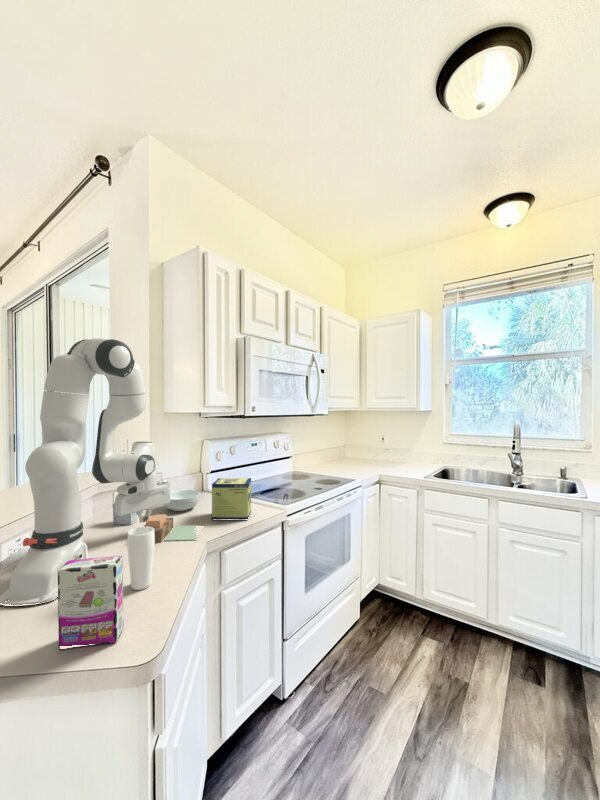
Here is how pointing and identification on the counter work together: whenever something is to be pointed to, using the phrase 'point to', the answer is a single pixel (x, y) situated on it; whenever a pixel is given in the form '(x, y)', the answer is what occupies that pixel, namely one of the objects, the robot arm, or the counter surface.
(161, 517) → the terracotta tile
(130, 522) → the medicine box
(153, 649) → the counter surface
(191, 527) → the sage mat
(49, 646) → the counter surface
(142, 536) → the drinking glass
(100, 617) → the candy bar box
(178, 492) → the cereal bowl
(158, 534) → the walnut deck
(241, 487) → the protein box
